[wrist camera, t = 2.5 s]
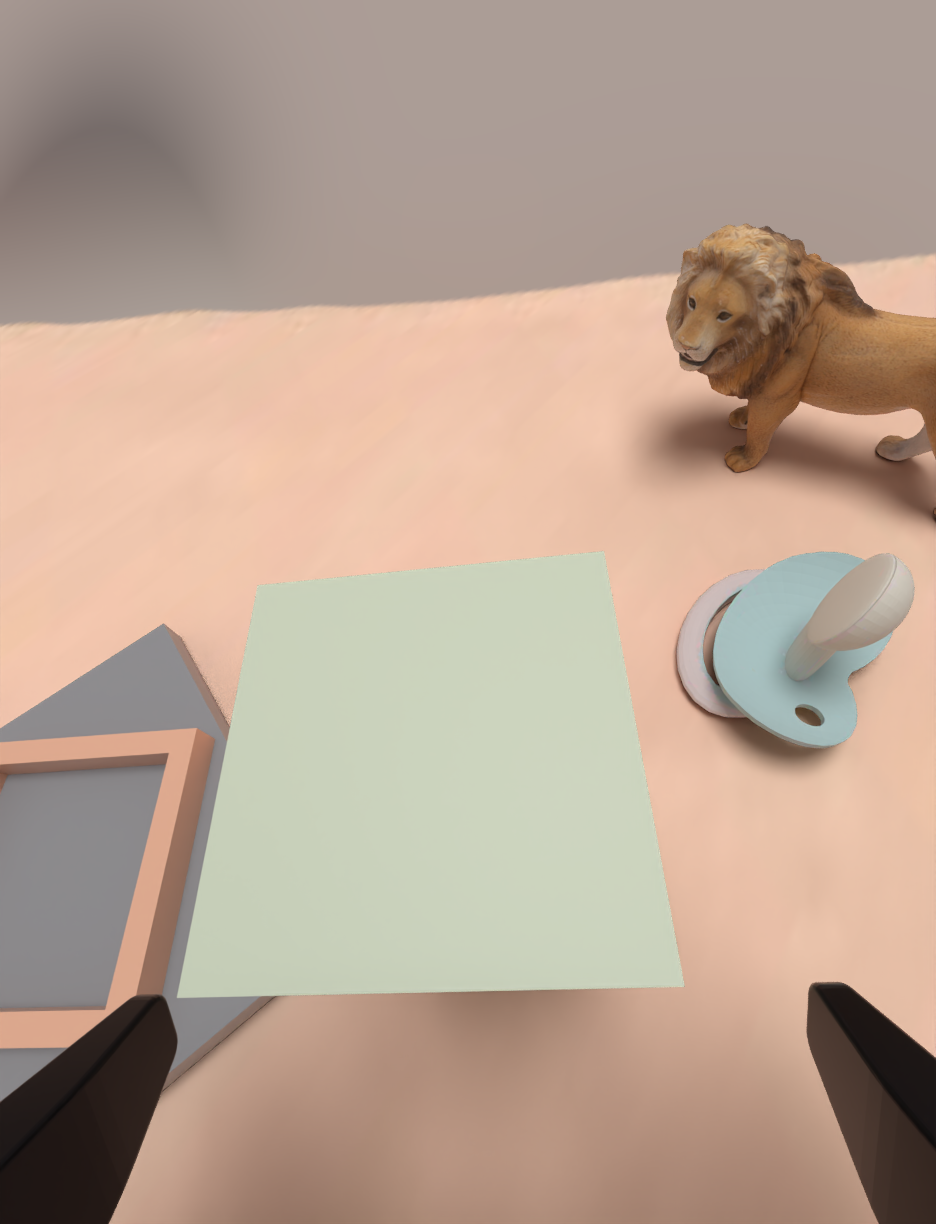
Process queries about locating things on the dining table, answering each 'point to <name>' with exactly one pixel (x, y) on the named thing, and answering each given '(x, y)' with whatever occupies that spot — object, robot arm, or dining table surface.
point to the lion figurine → (796, 340)
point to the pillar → (433, 793)
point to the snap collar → (158, 873)
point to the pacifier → (794, 641)
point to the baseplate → (101, 851)
